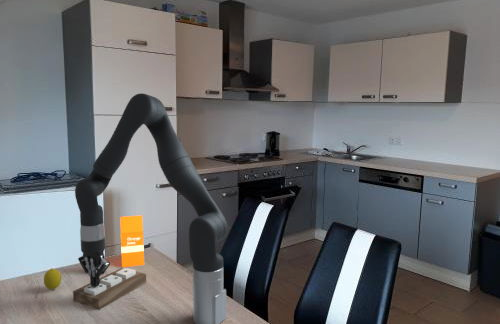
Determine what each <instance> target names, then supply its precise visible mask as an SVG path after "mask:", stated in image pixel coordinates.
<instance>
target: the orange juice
mask: <svg viewBox="0 0 500 324" xmlns="http://www.w3.org/2000/svg"><path fill="white" fill-rule="evenodd" d="M119 221H120V244H121V245H120V248H121V249H120V251H121V252H120V253H121V268H129V267H136V266H144V265H145V253H144V252H145V247H144V246H145V245H144V225H143V215H130V216H127V215H126V216H120V220H119Z"/></svg>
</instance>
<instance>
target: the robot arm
mask: <svg viewBox="0 0 500 324" xmlns="http://www.w3.org/2000/svg"><path fill="white" fill-rule="evenodd" d="M143 125H145V126H146V128H147V129H148V131H149V132H150V134H151V136H152V138H153V140H154V142H155V145H156V150H157V158H158V164H159V167H160V169H161V170H162V172H163V176H164V177H165V178H166V181H167V183H168V184H169V185H170V186H171V187H172V188H173V189H174V190H175V191H176V192H177V193H178V194H179V195H181V196H182V197H183V198H184V199H186V201H188V202H189V204H190V205H191V206H192V207H193V209H194V210H195V213H196V214H197V217H196V218H194V219H193V220H192V221H191V222H190V224H189V228H188V245H189V247H188V248H189V256H190V260H191V262H192V296H193V297H192V308H193V309H192V311H193V312H192V313H193V322H194V324H221V323H223V322H224V320H226V319H227V289H226V288H224V257H223V256H222V255H221V254H220V253H218V252H217V245H216V244H217V243H219V242H221V241H222V240H224V239H225V238H226V237H227V235H228V233H229V226H228V222H227V220H226V217H225V216H224V214H223V212H222V211H221V210H220V208H219V206H218V205H217V203H216V202H215V201H214V199H213V198H212V196H211V195H210V193H209V191H208V189H207V188H206V185H205V184H204V183H203V181H202V179H201V176H200V175H199V173H198V172H197V169H196V167H195V165H194V163H193V162H192V159H191V158H190V156H189V154H188V152H187V151H186V149H185V147H184V145H183V144H182V141H181V140H180V138H179V137H178V135H177V133H176V131H175V129H174V127H173V124H172V122H171V120H170V118H169V115H168V112H167V109H166V107H165V105H164V104H163V102H162V101H161V100H160V99H159V98H157V97H155V96H152V95H149V94H146V93H142V92H141V93H137V94H135V95H133V96H132V97H131V98H130V100H129V101H128V102H127V104H126V106H125V108H124V111H123V112H122V115H121V117H120V119H119V121H118V124H117V125H116V127H115V129H114V131H113V133H112V134H111V137H110V139H109V140H108V142H107V144H106V145H105V146H104V148H103V149H102V151H101V152H100V154H99V155H98V156H97V158H96V159H95V161H94V162H93V165H92V167H93V168H92V171H91V172H90V174H89V175H88V176H87V177H84V178H82V179H80V180H78V182H77V183H76V185H75V189H74V196H75V200H76V203H77V206H78V207H77V208H78V209H79V213H80V214H79V218H80V221H79V222H80V229H79V237H80V238H79V239H80V251H81V253H82V255H81V256H80V257H78V258H77V260H78V261H79V263H80V265H81V268H82V269H83V270H84V271H83V272H84V273H85V274H88V276H89V282H90V283H91V286H92V287H97V286H99V284H100V277H101V276H102V275H104V274H105V273H106V272H107V270H108V269H109V267H110V266H111V262H110V261H106V259H105V257H106V256H105V254H104V251H105V249H106V234H105V233H106V232H105V224H104V210H103V207H102V205H100V204H99V202H98V197H99V196H100V195H102V194H103V192H104V191H106V189H107V187H108V186H109V184H110V183H111V181H112V177H113V176H114V174H115V173H116V172H117V170H118V169H119V168H120V167H121V165H122V164H123V161H124V160H125V158H126V156H127V154H128V152H129V147H130V143H131V141H132V139H133V137H134V136H135V134H136V132H137V131H138V130H139V129H140V128H141V127H142V126H143Z"/></svg>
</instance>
